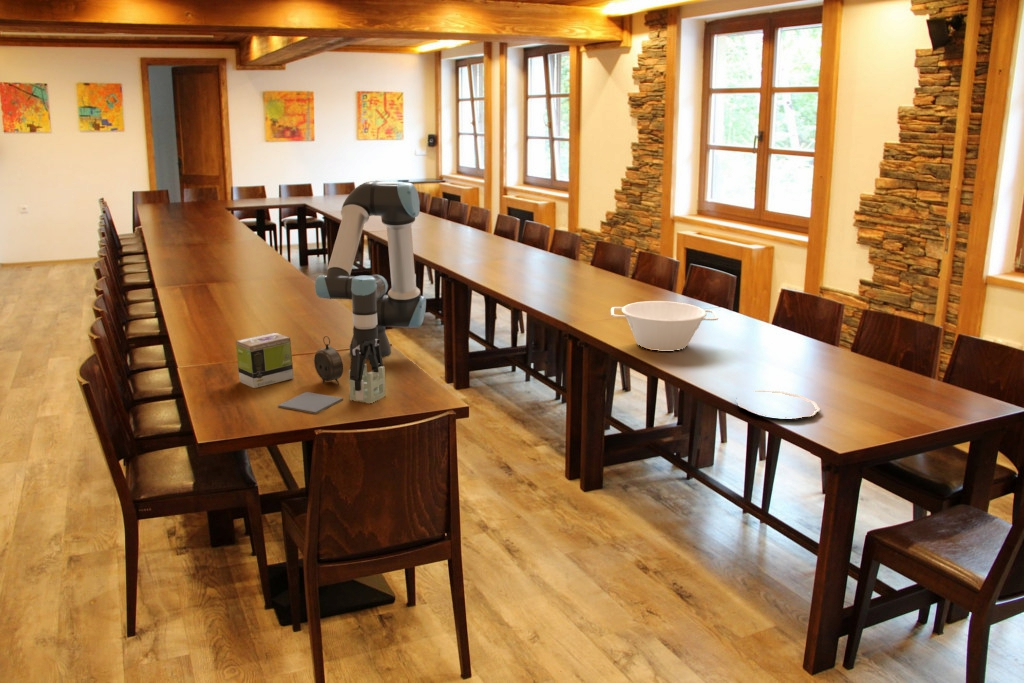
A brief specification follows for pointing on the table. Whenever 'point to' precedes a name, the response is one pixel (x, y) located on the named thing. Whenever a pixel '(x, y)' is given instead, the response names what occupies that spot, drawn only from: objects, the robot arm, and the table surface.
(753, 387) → the table surface
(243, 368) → the tea box
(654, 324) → the pot
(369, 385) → the stool
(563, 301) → the table surface
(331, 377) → the alarm clock
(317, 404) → the mat
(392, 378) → the table surface
